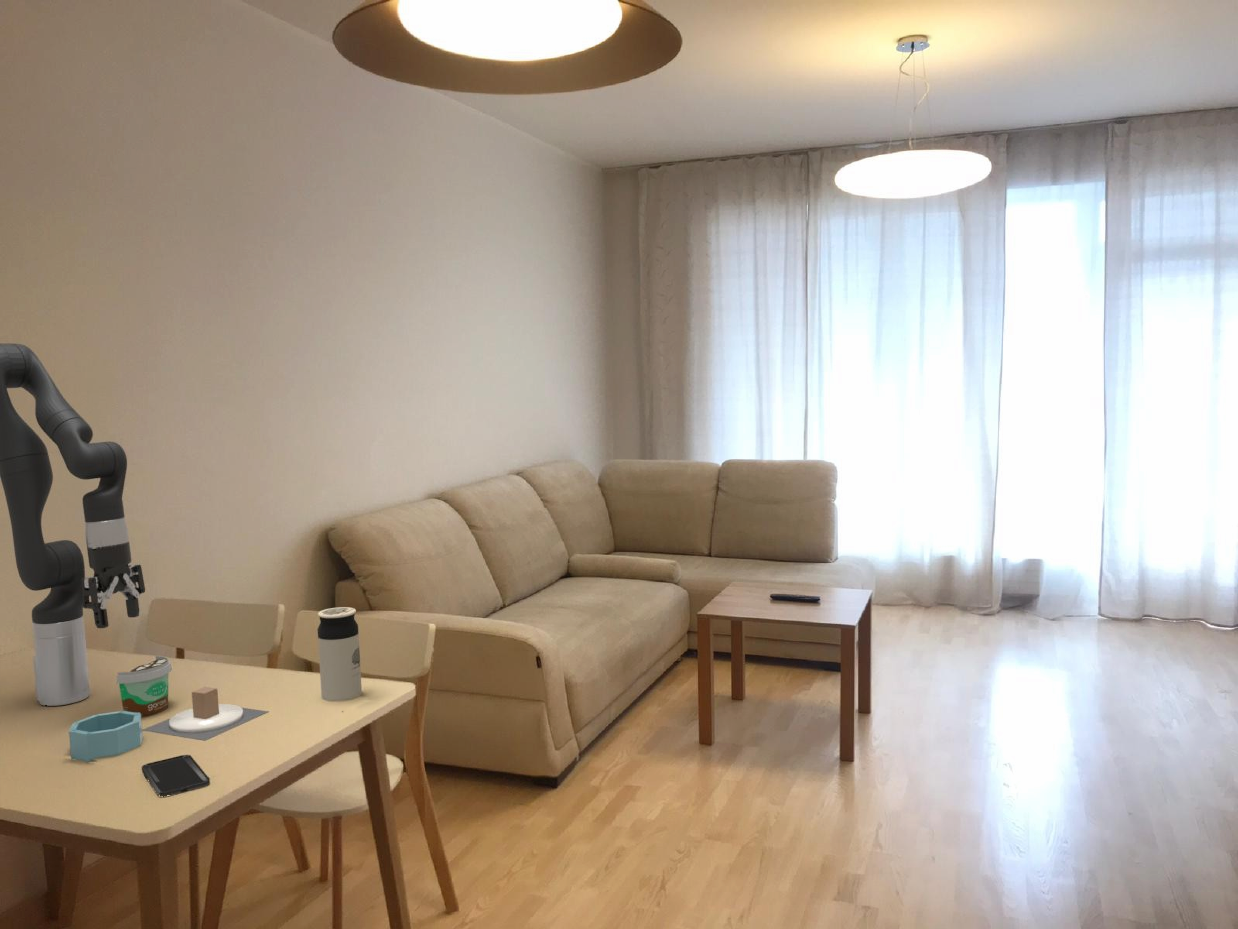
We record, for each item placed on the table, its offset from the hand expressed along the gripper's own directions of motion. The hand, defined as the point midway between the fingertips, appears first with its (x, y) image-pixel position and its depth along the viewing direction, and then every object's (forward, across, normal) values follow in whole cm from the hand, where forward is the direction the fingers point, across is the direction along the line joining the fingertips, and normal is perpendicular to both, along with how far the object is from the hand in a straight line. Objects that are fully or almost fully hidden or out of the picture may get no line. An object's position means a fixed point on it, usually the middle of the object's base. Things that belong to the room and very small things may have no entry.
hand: (118, 622), depth 196 cm
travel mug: (+20, -13, +40) cm, 47 cm away
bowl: (+19, +19, +12) cm, 29 cm away
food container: (+19, +1, +7) cm, 20 cm away
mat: (+19, +5, +21) cm, 29 cm away
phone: (+21, +28, +32) cm, 48 cm away
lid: (+19, +5, +21) cm, 29 cm away
